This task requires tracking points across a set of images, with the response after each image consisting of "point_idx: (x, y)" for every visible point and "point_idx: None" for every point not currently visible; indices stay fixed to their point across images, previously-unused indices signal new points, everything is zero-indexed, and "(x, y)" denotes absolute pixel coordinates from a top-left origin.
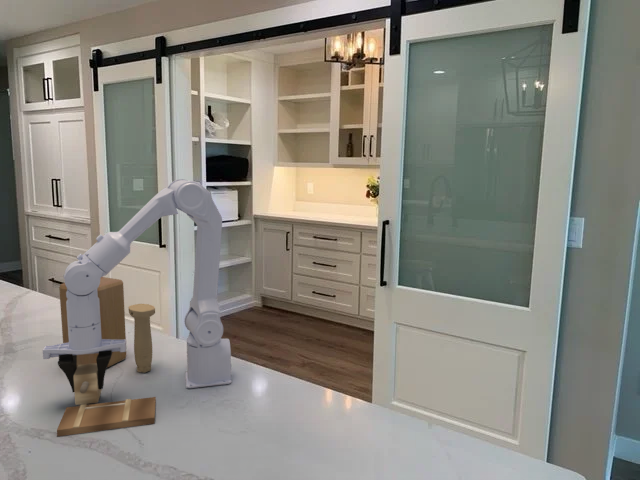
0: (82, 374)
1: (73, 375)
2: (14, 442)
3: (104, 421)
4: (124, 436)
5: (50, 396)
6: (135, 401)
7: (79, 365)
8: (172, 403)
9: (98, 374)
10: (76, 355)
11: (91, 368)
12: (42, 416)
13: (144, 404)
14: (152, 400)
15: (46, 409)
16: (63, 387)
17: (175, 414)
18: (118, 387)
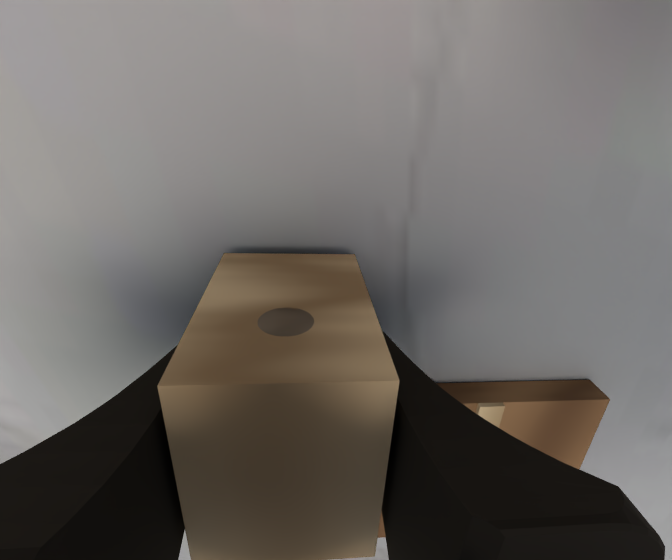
0: (264, 558)
1: (183, 522)
2: None
3: (383, 524)
4: None
5: (20, 175)
6: (516, 420)
7: (176, 397)
8: (646, 398)
9: (382, 505)
10: (81, 523)
11: (323, 481)
12: (95, 391)
13: (545, 447)
14: (586, 426)
15: (81, 332)
16: (48, 34)
17: (621, 467)
18: (447, 164)
